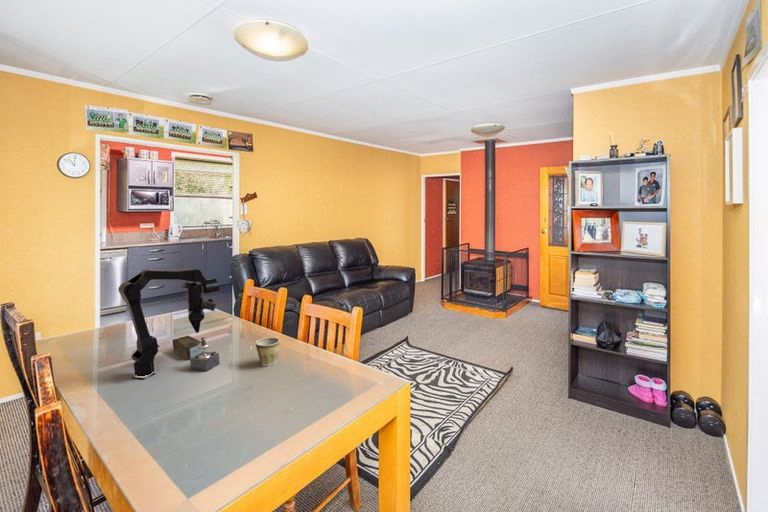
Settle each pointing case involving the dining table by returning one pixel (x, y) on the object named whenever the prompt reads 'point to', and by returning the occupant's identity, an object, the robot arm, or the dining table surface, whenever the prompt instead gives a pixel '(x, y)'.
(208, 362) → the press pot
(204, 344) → the plunger
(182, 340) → the beverage carton
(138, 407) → the dining table surface
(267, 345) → the ceramic cup
